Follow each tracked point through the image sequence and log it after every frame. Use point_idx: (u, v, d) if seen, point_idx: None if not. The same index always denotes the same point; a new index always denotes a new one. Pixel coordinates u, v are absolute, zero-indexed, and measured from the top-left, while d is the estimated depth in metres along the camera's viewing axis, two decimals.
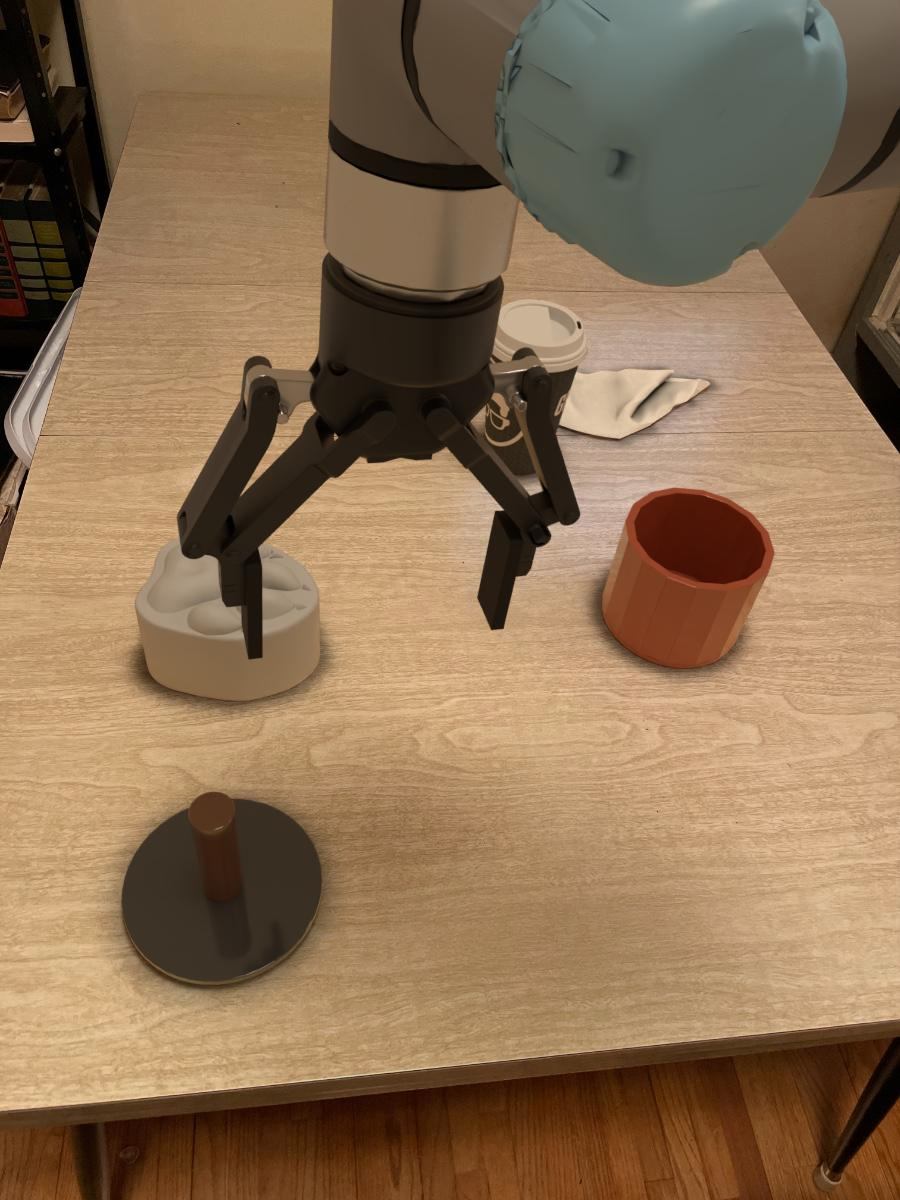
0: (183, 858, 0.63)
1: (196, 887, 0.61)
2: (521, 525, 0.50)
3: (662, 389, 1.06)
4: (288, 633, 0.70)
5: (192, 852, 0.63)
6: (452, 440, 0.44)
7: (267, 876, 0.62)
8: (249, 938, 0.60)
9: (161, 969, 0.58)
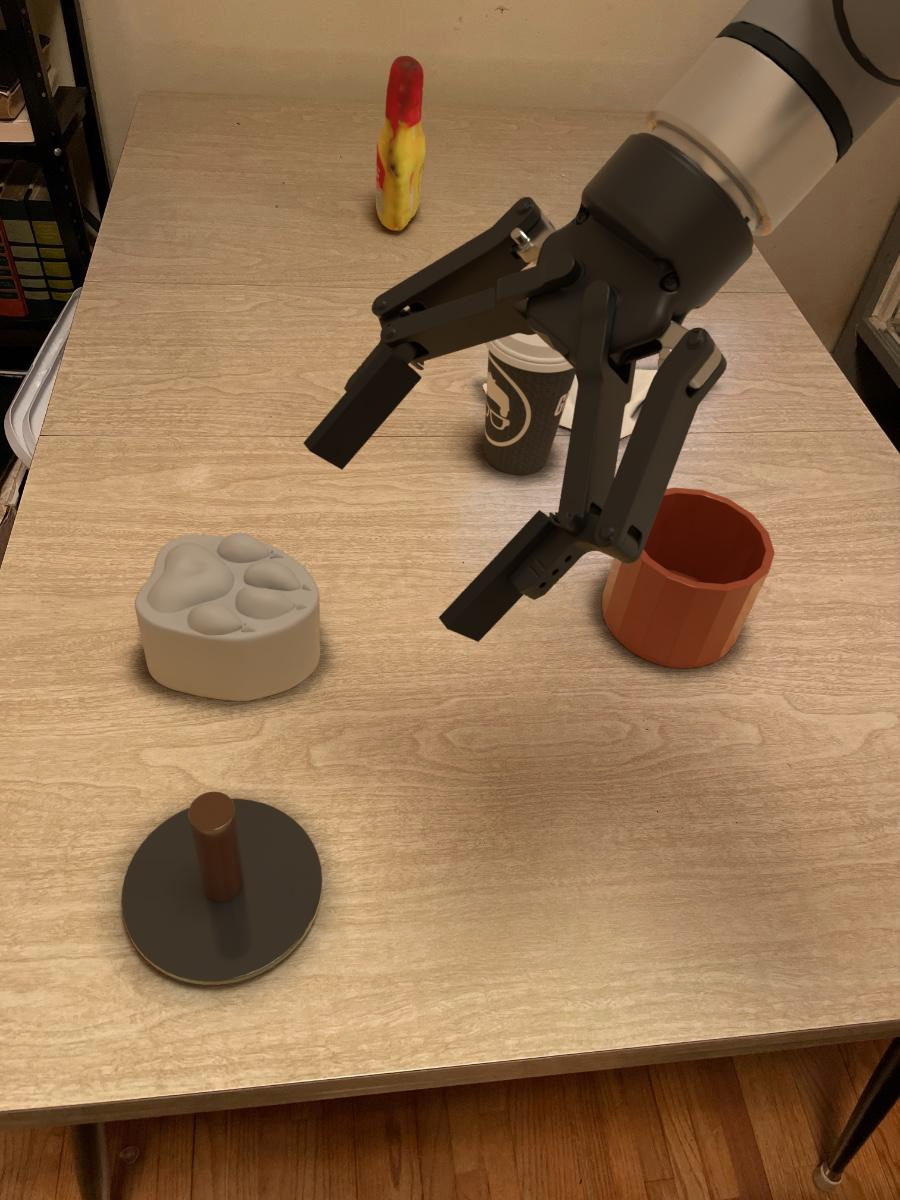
0: (183, 858, 0.63)
1: (196, 887, 0.61)
2: (563, 499, 0.41)
3: None
4: (288, 633, 0.70)
5: (192, 852, 0.63)
6: (589, 329, 0.42)
7: (267, 876, 0.62)
8: (249, 938, 0.60)
9: (161, 969, 0.58)
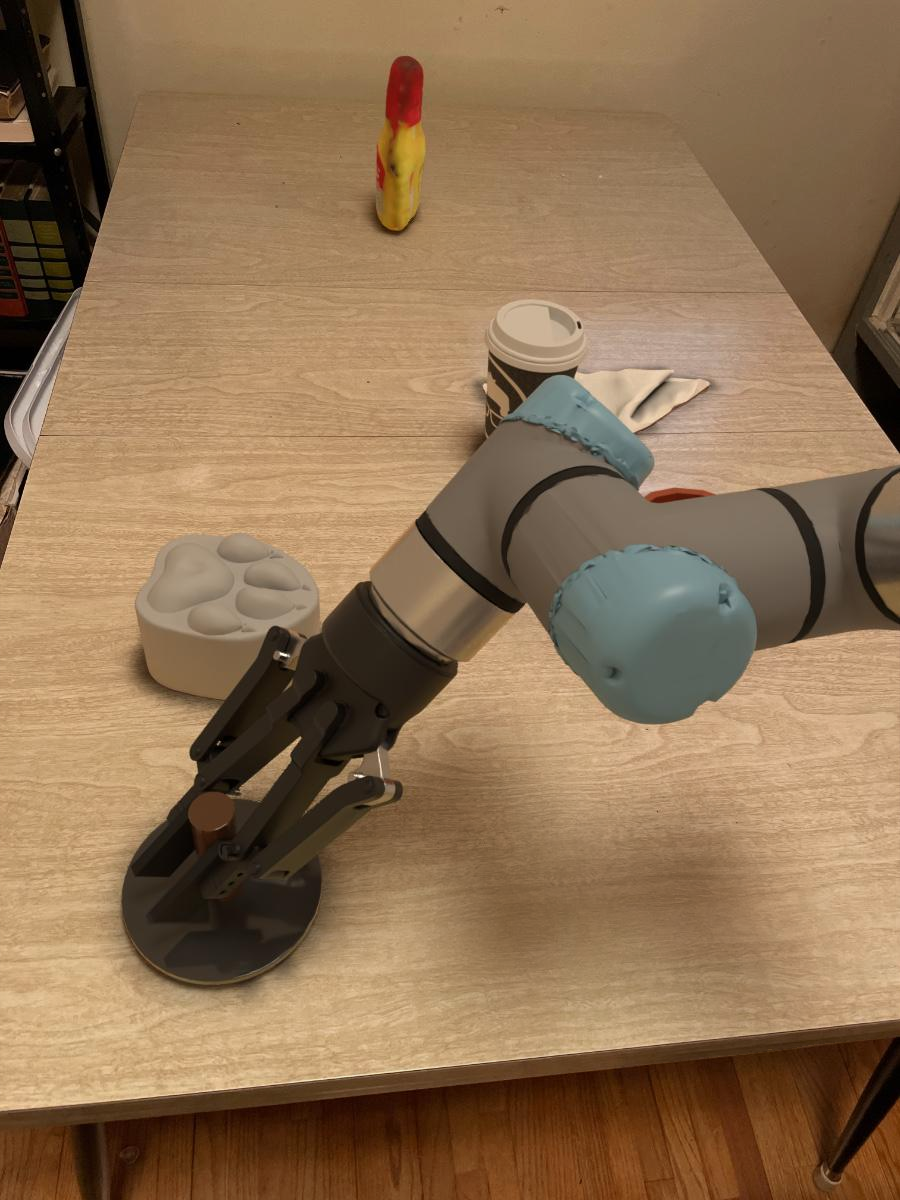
0: None
1: None
2: (240, 833, 0.55)
3: (662, 389, 1.06)
4: None
5: (192, 852, 0.63)
6: (312, 732, 0.53)
7: None
8: (249, 938, 0.60)
9: (161, 969, 0.58)
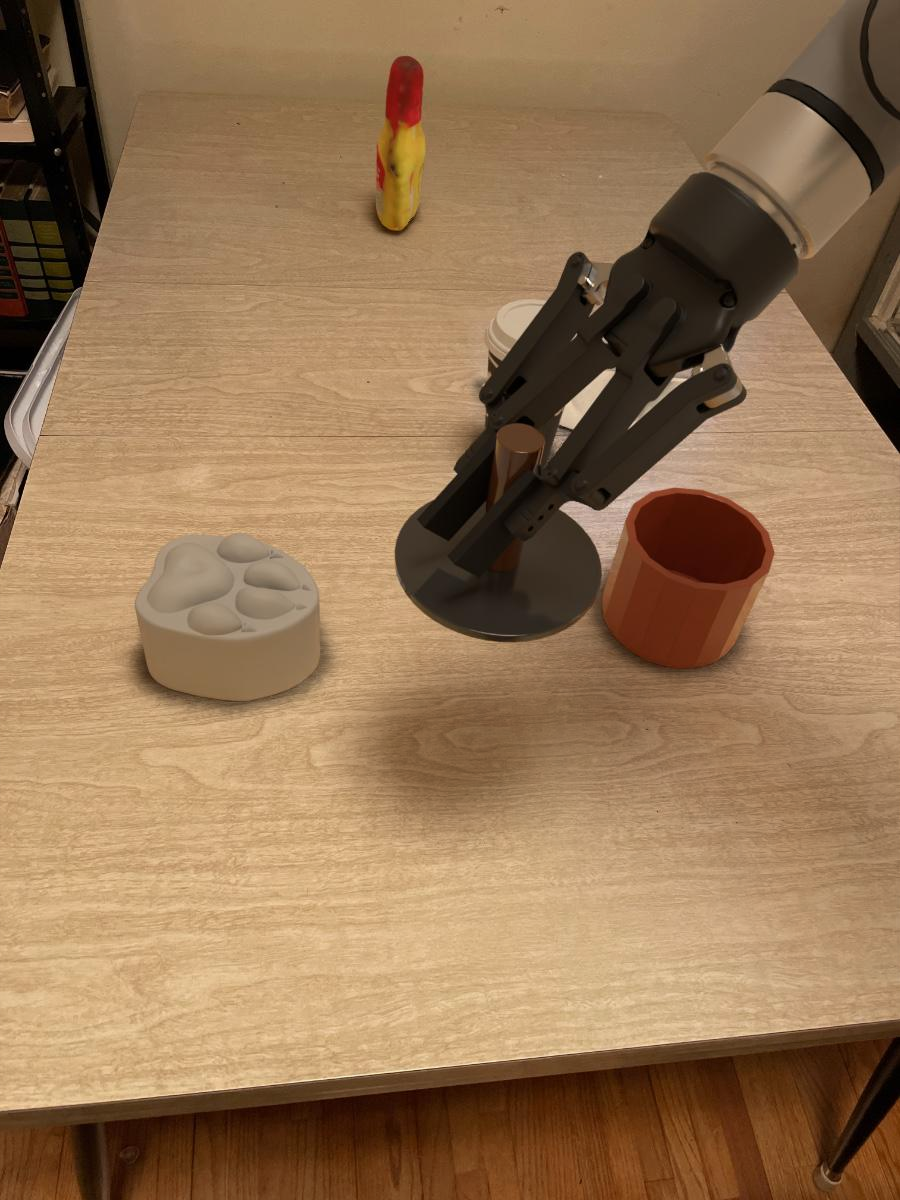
0: None
1: None
2: (555, 457, 0.51)
3: None
4: (288, 633, 0.70)
5: (459, 531, 0.59)
6: (644, 335, 0.49)
7: (543, 552, 0.59)
8: (537, 602, 0.56)
9: (453, 625, 0.54)
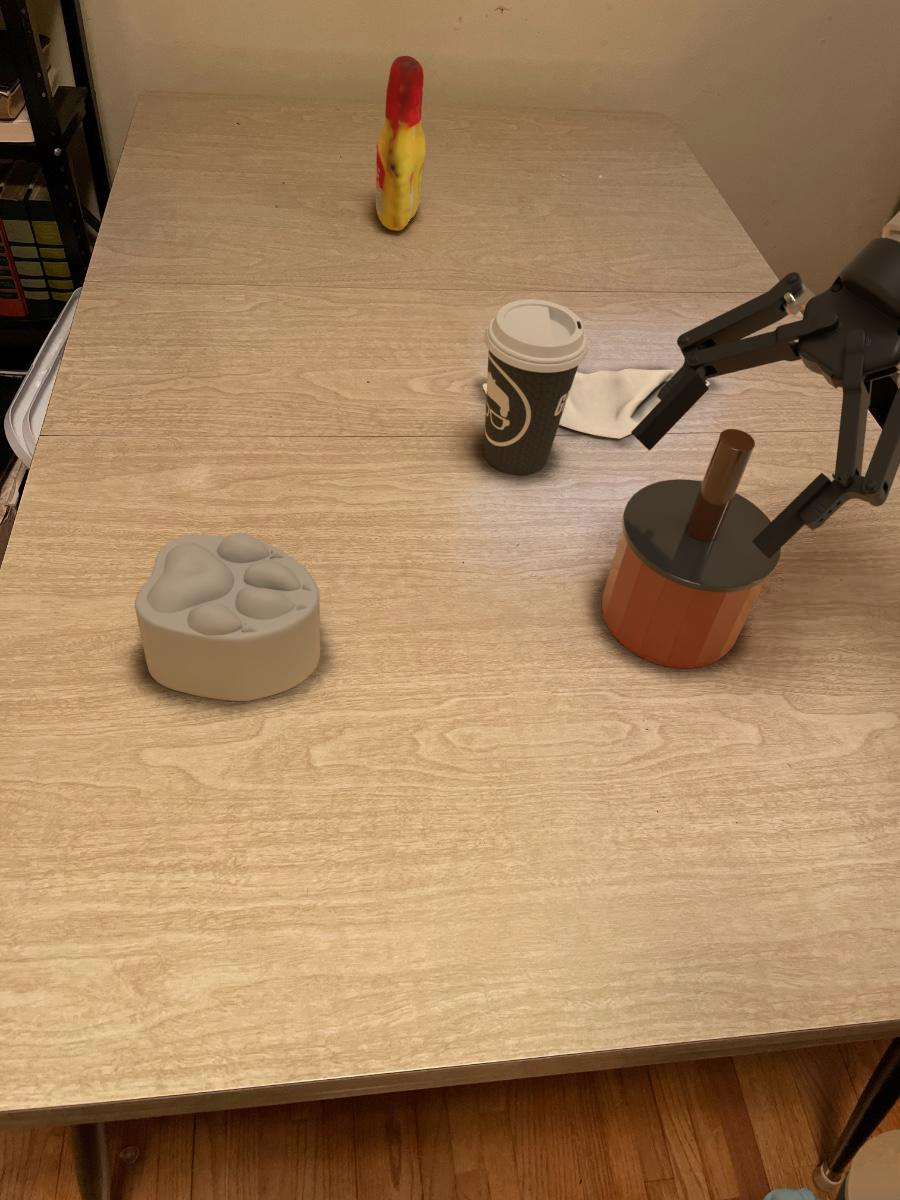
0: (663, 514, 0.77)
1: (682, 531, 0.76)
2: (838, 465, 0.66)
3: None
4: (288, 633, 0.70)
5: (669, 510, 0.78)
6: (851, 359, 0.66)
7: (734, 527, 0.77)
8: (737, 563, 0.74)
9: (678, 580, 0.72)
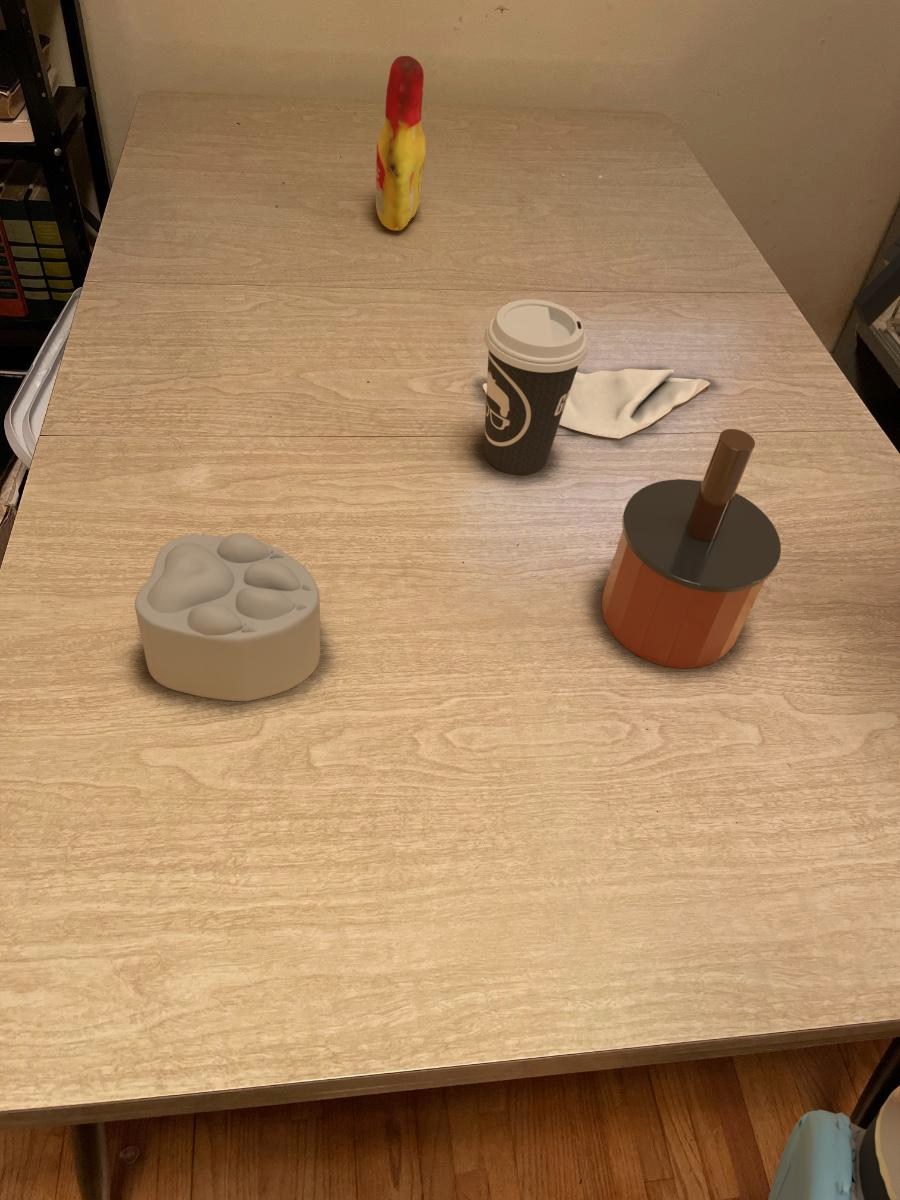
0: (663, 514, 0.77)
1: (682, 531, 0.76)
2: None
3: (662, 389, 1.06)
4: (288, 633, 0.70)
5: (669, 510, 0.78)
6: None
7: (734, 527, 0.77)
8: (737, 563, 0.74)
9: (678, 580, 0.72)
